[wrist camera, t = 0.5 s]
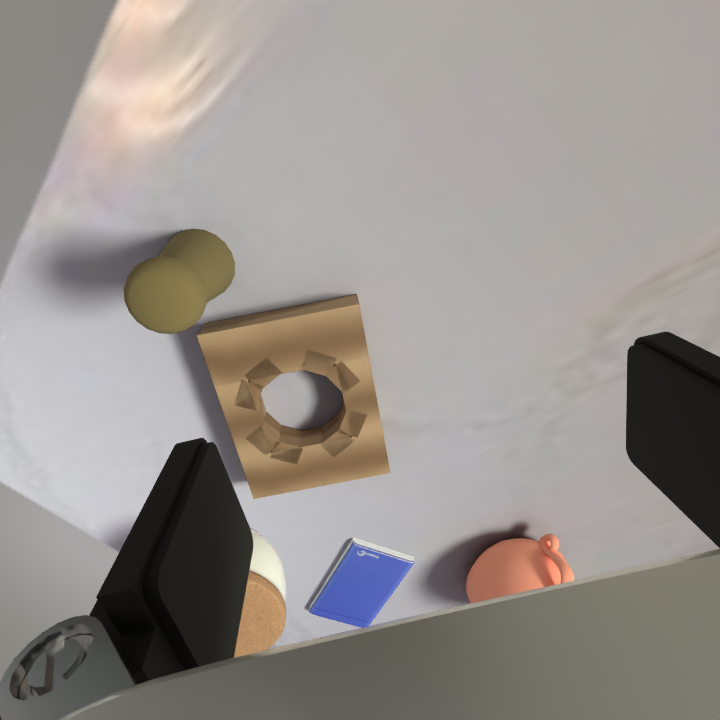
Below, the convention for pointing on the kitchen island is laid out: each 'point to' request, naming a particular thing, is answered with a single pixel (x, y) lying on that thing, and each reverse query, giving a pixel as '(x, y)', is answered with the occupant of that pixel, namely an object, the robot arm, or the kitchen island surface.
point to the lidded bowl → (262, 600)
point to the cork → (179, 281)
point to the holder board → (288, 354)
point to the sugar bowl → (517, 568)
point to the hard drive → (360, 583)
